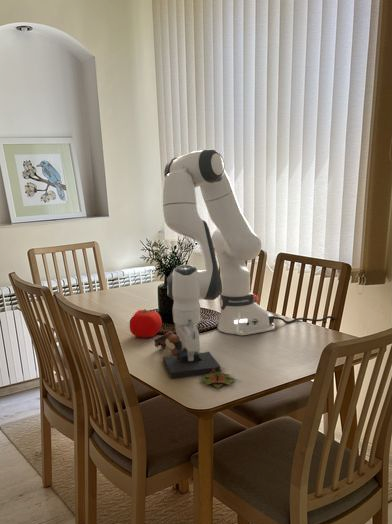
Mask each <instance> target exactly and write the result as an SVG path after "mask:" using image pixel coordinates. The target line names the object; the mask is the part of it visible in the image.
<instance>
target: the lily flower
mask: <svg viewBox="0 0 392 524" xmlns="http://www.w3.org/2000/svg"><path fill="white" fill-rule="evenodd" d="M220 368H222V367H221V366H220ZM212 369H213V368H212ZM224 369H225V367H224V368H222V369H221V371H220V372H218V371H217V372H215V371H216V369H215V370H214V369H213V370H214V371H213V370H212V371H213V372H215V373H212V372H211V374H204V376H203V377H200V378H198V379H197V381H202V382H204V386H207V385H210V384H211V385H212V386H214V387H215V388H217V389H219V388H220V387H221V386H223V385H224V384H226V385H229V386H232V383H231V382H234V381H238V380H239V379H237V378H235V377H232V376H231V374H229V373H226V372H223V371H224ZM219 370H220V369H219Z"/></svg>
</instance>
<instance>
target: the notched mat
mask: <svg viewBox="0 0 392 524" xmlns="http://www.w3.org/2000/svg"><path fill="white" fill-rule="evenodd" d="M198 354H199V361H194V362H186V363H180V361H179V359H178V355H175V356H173V355H168V356H162V361H163V365H164V366H165V368H166V370H167V373H168V375H169V376H170V378H171V379H177V378H179V379H180V378H187V377H195V376H205V374H206V375H207V374H211V372H212V373H215V372H217V371H218V372H220V371H221V370H222V369H221V368H222V367H221V365H220V364H219V363H218V361H217V360H216V359H215V357H214V356H213V355H212V353H211V352H210V351H206V352H198ZM220 367H221V368H220ZM212 368H213V369H214V370H215V369H216V371H215V372H213V371H214V370H213V369H212ZM219 369H220V370H219ZM212 370H213V371H212ZM221 372H222V371H221ZM221 372H220V373H221Z"/></svg>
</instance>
